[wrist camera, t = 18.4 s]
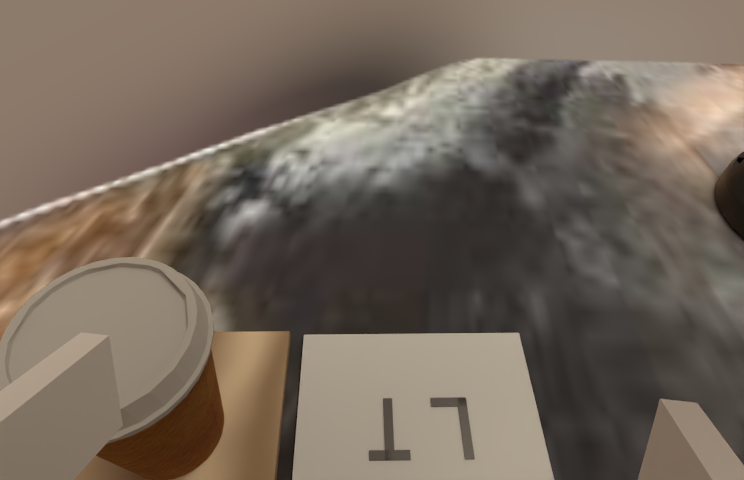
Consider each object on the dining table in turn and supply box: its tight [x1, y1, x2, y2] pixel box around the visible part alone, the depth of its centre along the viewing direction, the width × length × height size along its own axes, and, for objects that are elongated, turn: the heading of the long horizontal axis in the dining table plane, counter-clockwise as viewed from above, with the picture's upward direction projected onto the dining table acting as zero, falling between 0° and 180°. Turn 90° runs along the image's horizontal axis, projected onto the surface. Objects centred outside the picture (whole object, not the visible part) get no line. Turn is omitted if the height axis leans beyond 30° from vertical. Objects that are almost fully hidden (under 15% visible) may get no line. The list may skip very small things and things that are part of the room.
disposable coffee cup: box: [0, 257, 224, 480], centre depth 27 cm, size 10×10×12 cm
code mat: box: [292, 333, 554, 480], centre depth 33 cm, size 16×14×1 cm
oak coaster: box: [74, 331, 291, 480], centre depth 32 cm, size 14×14×1 cm
